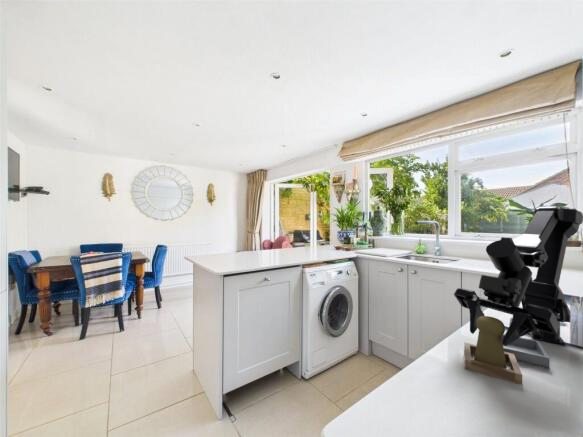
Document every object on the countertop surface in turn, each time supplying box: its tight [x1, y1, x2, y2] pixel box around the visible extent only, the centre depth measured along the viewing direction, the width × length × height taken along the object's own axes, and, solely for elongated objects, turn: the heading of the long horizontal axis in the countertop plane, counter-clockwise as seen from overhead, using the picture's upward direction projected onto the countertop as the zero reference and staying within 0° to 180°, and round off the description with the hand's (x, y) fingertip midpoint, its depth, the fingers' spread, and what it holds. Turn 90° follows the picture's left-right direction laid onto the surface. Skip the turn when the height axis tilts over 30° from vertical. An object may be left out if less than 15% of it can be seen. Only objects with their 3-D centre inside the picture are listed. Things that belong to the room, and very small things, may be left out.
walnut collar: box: [463, 342, 523, 386], centre depth 58 cm, size 10×10×2 cm
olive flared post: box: [473, 315, 508, 369], centre depth 58 cm, size 6×6×11 cm
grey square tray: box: [502, 333, 551, 370], centre depth 63 cm, size 10×10×2 cm
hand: (486, 338), depth 57 cm, fingers open, 6 cm apart
